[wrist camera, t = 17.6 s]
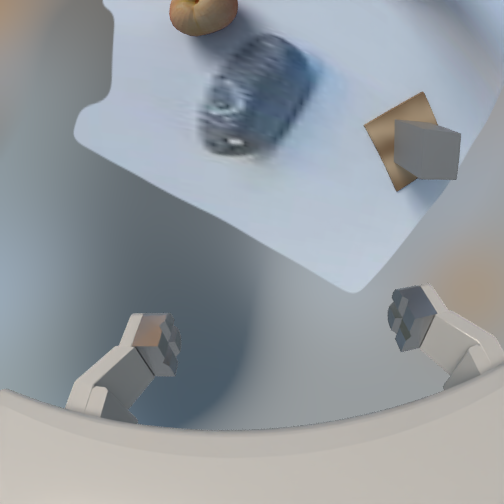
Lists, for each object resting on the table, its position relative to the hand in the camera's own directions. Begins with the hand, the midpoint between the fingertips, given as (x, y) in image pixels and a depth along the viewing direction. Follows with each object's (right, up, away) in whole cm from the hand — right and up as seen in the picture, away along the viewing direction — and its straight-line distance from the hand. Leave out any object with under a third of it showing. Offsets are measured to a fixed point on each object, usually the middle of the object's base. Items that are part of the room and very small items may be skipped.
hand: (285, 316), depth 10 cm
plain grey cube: (+23, +19, +25) cm, 39 cm away
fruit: (-7, +33, +16) cm, 37 cm away
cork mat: (+23, +19, +25) cm, 39 cm away
